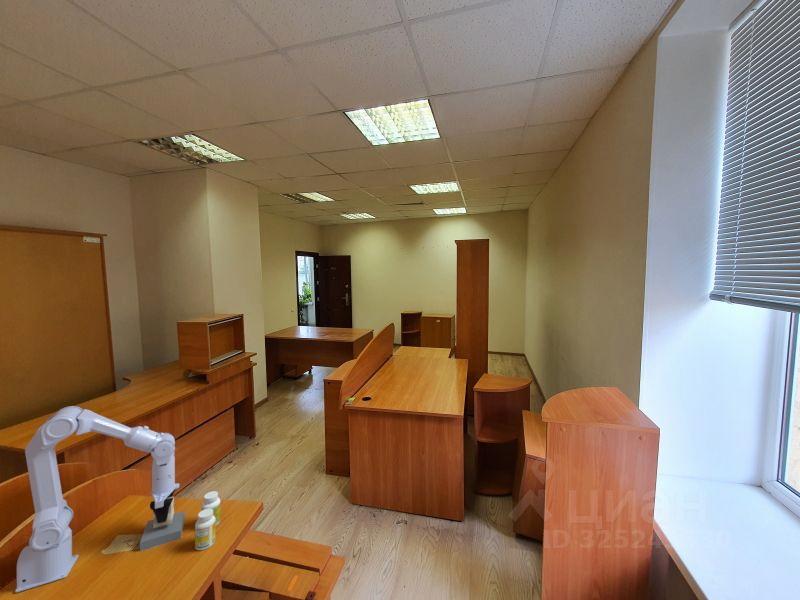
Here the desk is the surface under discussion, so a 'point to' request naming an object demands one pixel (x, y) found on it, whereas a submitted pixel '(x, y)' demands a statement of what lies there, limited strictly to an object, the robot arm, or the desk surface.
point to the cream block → (169, 518)
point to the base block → (162, 532)
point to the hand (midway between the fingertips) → (163, 516)
